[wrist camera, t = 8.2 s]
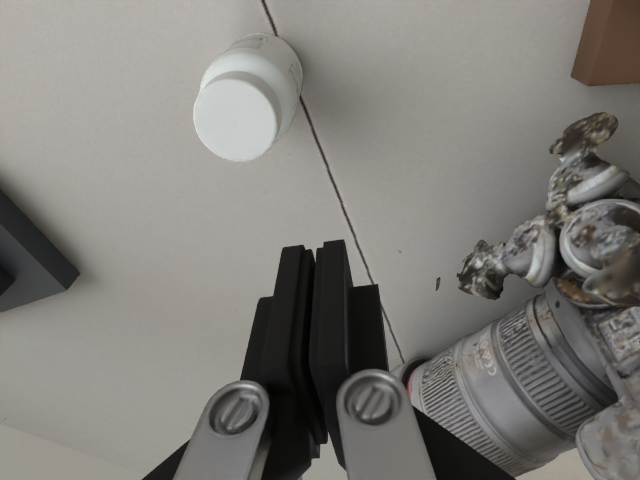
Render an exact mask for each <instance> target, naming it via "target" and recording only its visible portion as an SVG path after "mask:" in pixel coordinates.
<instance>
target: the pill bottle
mask: <svg viewBox="0 0 640 480" xmlns="http://www.w3.org/2000/svg"><path fill="white" fill-rule="evenodd" d="M302 83H303V73H302V67H301V64H300V61H299V59H298V57H297V55H296V53H295V52H294V50H293V49H292V48H291V47H290V46H289V45H288V44H287V43H286V42H285V41H283V40H282V39H280V38H279V37H277V36H274V35H271V34H267V33H252V34H248V35H245V36H243V37H241V38H240V39H238V40H237V41H236V42H235V43H234V44H232V45H231V46H230V47H229V48H228V49H227V50H226V51H225V52H224V53H223V54H221V55H220V56H219V57H218V58H217V59H216V60H215V61H214V62H213V63H212V64H211V65H210V66H209V68H208V69H207V71H206V72H205V74H204V76H203V78H202V81H201V85H200V92H199V95H198V97H197V99H196V102H195V104H194V110H193V121H194V125H195V128H196V131H197V133H198V135H199V137H200V139H201V140H202V142H203V143H204V144H205V145H206V147H207V148H208V149H210V150H211V151H212V152H214V153H215V154H216V155H218V156H220V157H222V158H224V159H227V160H231V161H236V162H246V161H251V160H254V159H257V158H259V157H261V156H262V155H264V154H265V153H266V152H267V151H268V150H269V149H270V148H271V146H272V145H273V144H274V143H275V142H277V141H278V140H280V139H281V138H282V137H283V136H284V135H285V134H286V132H287V131H288V129H289V127H290V126H291V123H292V121H293V118H294V115H295V112H296V108H297V104H298V100H299V97H300V93H301V89H302Z"/></svg>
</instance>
